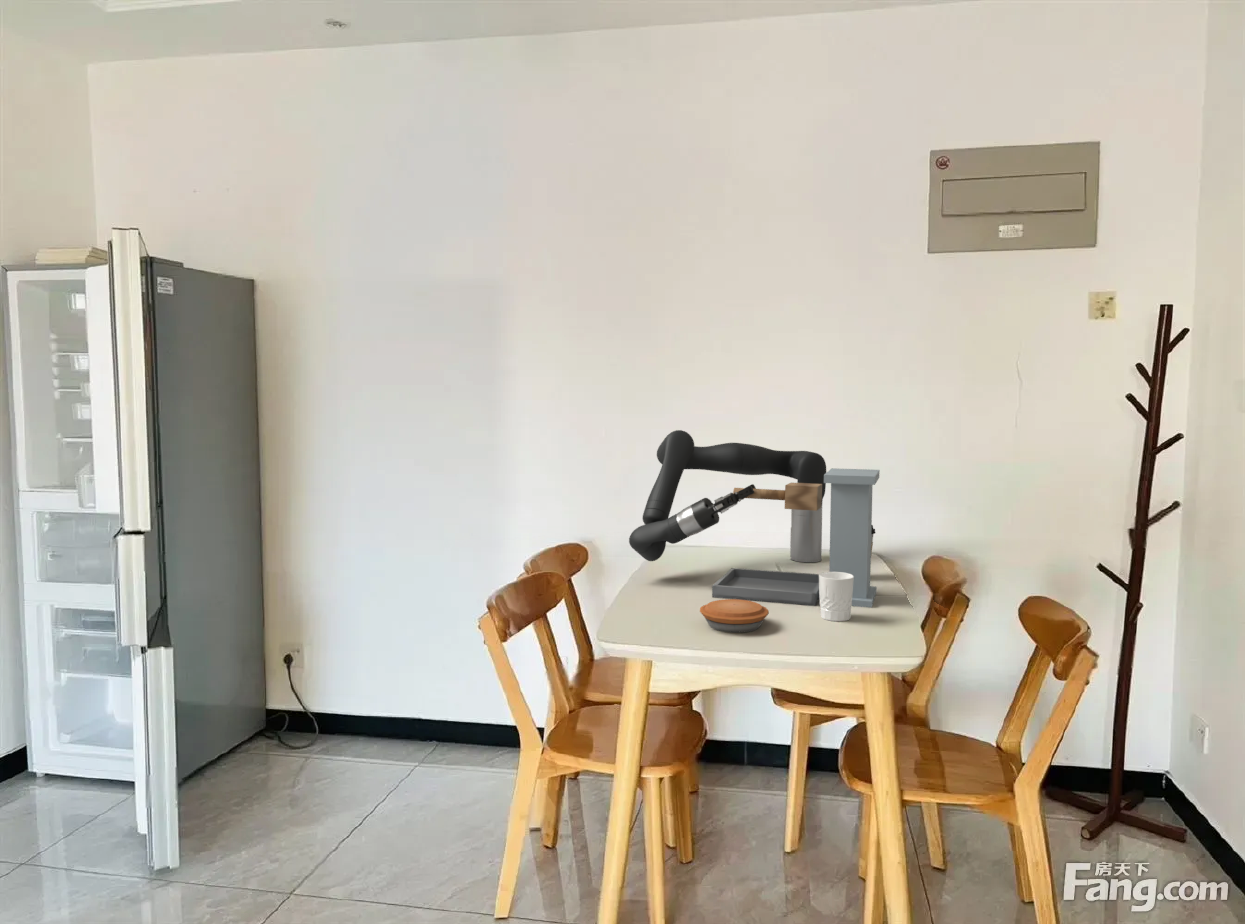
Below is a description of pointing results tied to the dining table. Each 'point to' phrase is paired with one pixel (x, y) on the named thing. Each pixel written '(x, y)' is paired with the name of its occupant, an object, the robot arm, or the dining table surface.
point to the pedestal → (852, 528)
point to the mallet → (792, 495)
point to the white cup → (835, 595)
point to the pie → (734, 615)
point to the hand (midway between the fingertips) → (753, 488)
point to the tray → (768, 586)
